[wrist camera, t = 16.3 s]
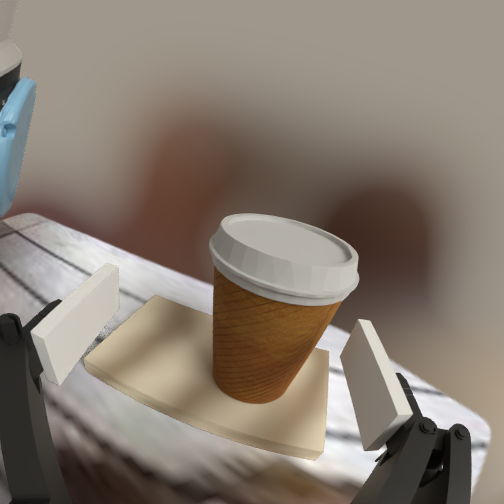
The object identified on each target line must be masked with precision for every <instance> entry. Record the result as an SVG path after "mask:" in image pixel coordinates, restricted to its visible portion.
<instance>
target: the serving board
mask: <svg viewBox="0 0 504 504" xmlns="http://www.w3.org/2000/svg"><path fill="white" fill-rule="evenodd" d="M212 325H213V316H211V315H208V314H205V313H203V312H200V311H197V310H194V309H192V308H189V307H186V306H183V305H181V304H178V303H176V302H173V301H170V300H168V299H165V298H163V297H160V296H158V295H155V296H154V297H152V298H151V299H150V300H149V301H148V302H147V303H145V304H144V305H143V306H142V307H141V308H140V309H139V310H137V311H136V312H135V313H134V314H133V315H132V316H130V317H129V318H128V319H127V320H126V321H125V322H124V323H123V324H121V325H120V326H119V327H118V328H117V329H116V330H115V331H113V332H112V333H111V334H110V335H109V336H108V337H107V338H106V339H104V340H103V341H102V342H101V343H100V344H99V345H98V346H97V347H96V348H94V349H93V350H92V351H91V352H90V353H89V354H88V355H87V356H86V357H85V358H83V359H84V363H85V367H86V371H87V372H89V373H90V374H92V375H93V376H95V377H97V378H98V379H100V380H102V381H103V382H105V383H106V384H108V385H110V386H112V387H113V388H115V389H117V390H119V391H120V392H122V393H124V394H126V395H128V396H129V397H131V398H133V399H135V400H137V401H139V402H141V403H143V404H145V405H147V406H149V407H151V408H153V409H155V410H157V411H159V412H161V413H164V414H166V415H168V416H170V417H173V418H175V419H177V420H179V421H182V422H184V423H187V424H189V425H192V426H194V427H197V428H199V429H202V430H204V431H207V432H210V433H213V434H215V435H218V436H221V437H224V438H227V439H230V440H233V441H236V442H240V443H243V444H246V445H250V446H253V447H257V448H260V449H264V450H268V451H272V452H276V453H280V454H285V455H289V456H294V457H299V458H304V459H309V460H316V459H317V458H318V457H319V456H320V455H321V454H322V453H323V452H324V442H325V430H326V416H327V399H328V376H329V351H326V350H322V349H318V348H315V347H314V349H313V351H312V352H311V354H310V355H309V357H308V359H307V360H306V362H305V363H304V365H303V366H302V368H301V369H300V371H299V372H298V374H297V375H296V377H295V378H294V380H293V381H292V382H291V384H290V385H289V387H288V388H287V390H286V391H285V393H284V394H283V395H282V396H281V397H280V398H278V399H276V400H274V401H272V402H269V403H265V404H249V403H245V402H241V401H238V400H236V399H233V398H232V397H230V396H228V395H227V394H225V393H224V392H223V391H222V390H221V389H220V388H219V387H218V385H217V384H216V382H215V380H214V378H213V373H212V370H213V358H212V356H213V352H212V350H213V345H212V344H213V333H212V332H213V326H212Z"/></svg>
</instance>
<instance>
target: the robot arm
mask: <svg viewBox="0 0 504 504" xmlns="http://www.w3.org/2000/svg"><path fill="white" fill-rule="evenodd" d="M18 3H19V0H0V217H2V216H3V215H5V213H6V212H7V211H8V210H9V209H10V207H11V204H12V202H13V199H14V196H15V193H16V189H17V184H18V180H19V175H20V170H21V166H22V161H23V156H24V151H25V146H26V141H27V137H28V131H29V127H30V122H31V117H32V112H33V107H34V102H35V95H36V93H35V91H36V82H35V81H34V80H33V79H29V78H28V77H23V78H22V79H20V77H19V74H20V67H21V62H22V52H21V51H20V50H19V49H18V48H17V47H16V45H15V44H14V43H13V42H12V41H11V38H10V32H11V28H12V24H13V20H14V17H15V13H16V9H17V6H18ZM119 308H120V307H119V266H116V265H112V264H109V263H106V264H105V265H104V266H103V267H101V268H100V269H99V270H98V271H97V272H95V273H94V274H93V275H92V276H91V277H90V278H88V279H87V280H86V281H85V282H84V283H83V284H81V285H80V286H79V287H78V288H77V289H76V290H74V291H73V292H72V293H71V294H70V295H69V296H68V297H67V298H65V299H64V300H63V301H62V300H59V299H58V300H56V301H53V302H51V303H49V304H48V305H47V306H46V307H45V308H44V309H43V310H41V311H40V312H39V313H38V315H36V316H35V317H34V318H33V319H32V320H31V321H30V322H28V323H27V324H26V325H25V326H24V327H23V328H22V325H21V321H20V318H19V317H18V316H17V315H15V314H13V313H7V314H3V315H1V316H0V441H1V448H2V454H3V460H4V466H5V471H6V475H7V480H8V484H9V488H10V492H11V496H12V501H11V502H10V503H9V504H73V502H72V500H71V497H70V495H69V492H68V490H67V487H66V484H65V481H64V479H63V476H62V473H61V470H60V467H59V463H58V460H57V457H56V453H55V449H54V446H53V442H52V438H51V434H50V429H49V425H48V420H47V415H46V409H45V403H44V397H43V390H42V383H41V378H40V376H39V375H40V374H41V373H42V372H43V371H44V373H45V376H46V378H47V380H49V381H51V382H53V383H55V384H56V385H58V386H60V385H61V384H62V383H63V381H64V380H65V378H66V377H67V376H68V374H69V373H70V371H71V370H72V369H73V367H74V366H75V365H76V363H77V362H78V361H79V359H80V358H81V357H82V355H83V354H84V353H85V351H86V350H87V349H88V347H89V346H90V345H91V343H92V342H93V341H94V340H95V338H96V337H97V336H98V335H99V333H100V332H101V331H102V329H103V328H104V327H105V326H106V324H107V323H108V322H109V321H110V319H111V318H112V317H113V316H114V315H115V313H116V312H117V311H118V310H119ZM340 359H341V362H342V366H343V369H344V373H345V377H346V380H347V384H348V388H349V392H350V395H351V399H352V403H353V407H354V411H355V415H356V419H357V423H358V427H359V432H360V436H361V440H362V445H363V449H364V451H374V450H379V449H380V448H381V447H382V446H383V445H384V444H385V443H386V446H387V450H386V451H385V452H384V453H383V454H381V455H380V456H379V457H378V458H377V459H376V460H375V462H377V461H378V460H379V459H380V460H379V462H378V463H377V465H376V467H375V468H374V470H373V471H372V473H371V474H370V476H369V478H368V479H367V481H366V482H365V484H364V485H363V487H362V488H361V490H360V491H359V492H358V494H357V495H356V497H355V498H354V499H353V501H352V502H351V503H350V504H470V496H471V437H470V433H469V431H468V429H467V428H466V427H465V426H464V425H462V424H454V425H453V426H452V427H451V428H450V429H449V430H444V429H439V428H437V425H436V424H435V423H434V421H432V420H431V419H429V418H427V417H423V416H422V413H421V411H420V409H419V407H418V404H417V402H416V400H415V398H414V396H413V393H412V391H411V389H410V387H409V384H408V382H407V380H406V379H405V378H404V377H403V376H402V375H401V373H395V371H394V369H393V367H392V365H391V363H390V360H389V358H388V356H387V354H386V352H385V350H384V348H383V346H382V344H381V342H380V340H379V338H378V335H377V333H376V331H375V329H374V328H373V326H372V324H371V322H370V321H367V320H361V319H358V321H357V323H356V325H355V327H354V329H353V331H352V333H351V335H350V337H349V339H348V341H347V343H346V345H345V347H344V349H343V351H342V353H341V355H340ZM442 465H443V468H442Z"/></svg>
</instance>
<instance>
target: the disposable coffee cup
mask: <svg viewBox="0 0 504 504" xmlns="http://www.w3.org/2000/svg"><path fill="white" fill-rule="evenodd" d="M209 246H210V253H211V254H212V260H213V263H214V290H213V325H212V326H213V332H212V333H213V344H212V345H213V350H212V352H213V356H212V358H213V370H212V373H213V378H214V380H215V382H216V384H217V385H218V387H219V388H220V389H221V390H222V391H223V392H224V393H225V394H227V395H228V396H230V397H232V398H233V399H236V400H238V401H241V402H245V403H249V404H265V403H269V402H272V401H274V400H276V399H278V398H280V397H281V396H282V395H283V394H284V393H285V391H286V390H287V388H288V387H289V385H290V384H291V382H292V381H293V380H294V378H295V377H296V375H297V374H298V372H299V371H300V369H301V368H302V366H303V365H304V363H305V362H306V360H307V359H308V357H309V355H310V354H311V352H312V351H313V349H314V347H315V346H316V344H317V343H318V341H319V339H320V338H321V336H322V335H323V333H324V331H325V330H326V328H327V326H328V324H329V323H330V321H331V319H332V317H333V316H334V314H335V312H336V310H337V309H338V307H339V306H340V304H341V302H342V300H344V299H345V298H346V297H347V296H348V295H349V293H350V292H351V291H353V290H354V289H355V288H356V286H357V284H358V281H359V275H358V273H357V264H358V254H357V252H356V251H355V250H354V249H353V248H352V247H351V246H350V245H349V244H348V243H346V242H345V241H343V240H341V239H340V238H338V237H336V236H334V235H332V234H330V233H328V232H326V231H324V230H321V229H319V228H316V227H314V226H311V225H307V224H304V223H301V222H298V221H294V220H290V219H286V218H281V217H276V216H270V215H263V214H235V215H231V216H228V217H225V218H224V219H223V220H222V221H221V224H220V226H219V229H218V231H217V233H216V234H214V235H213V236H212V238H211V239H210V243H209Z"/></svg>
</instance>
